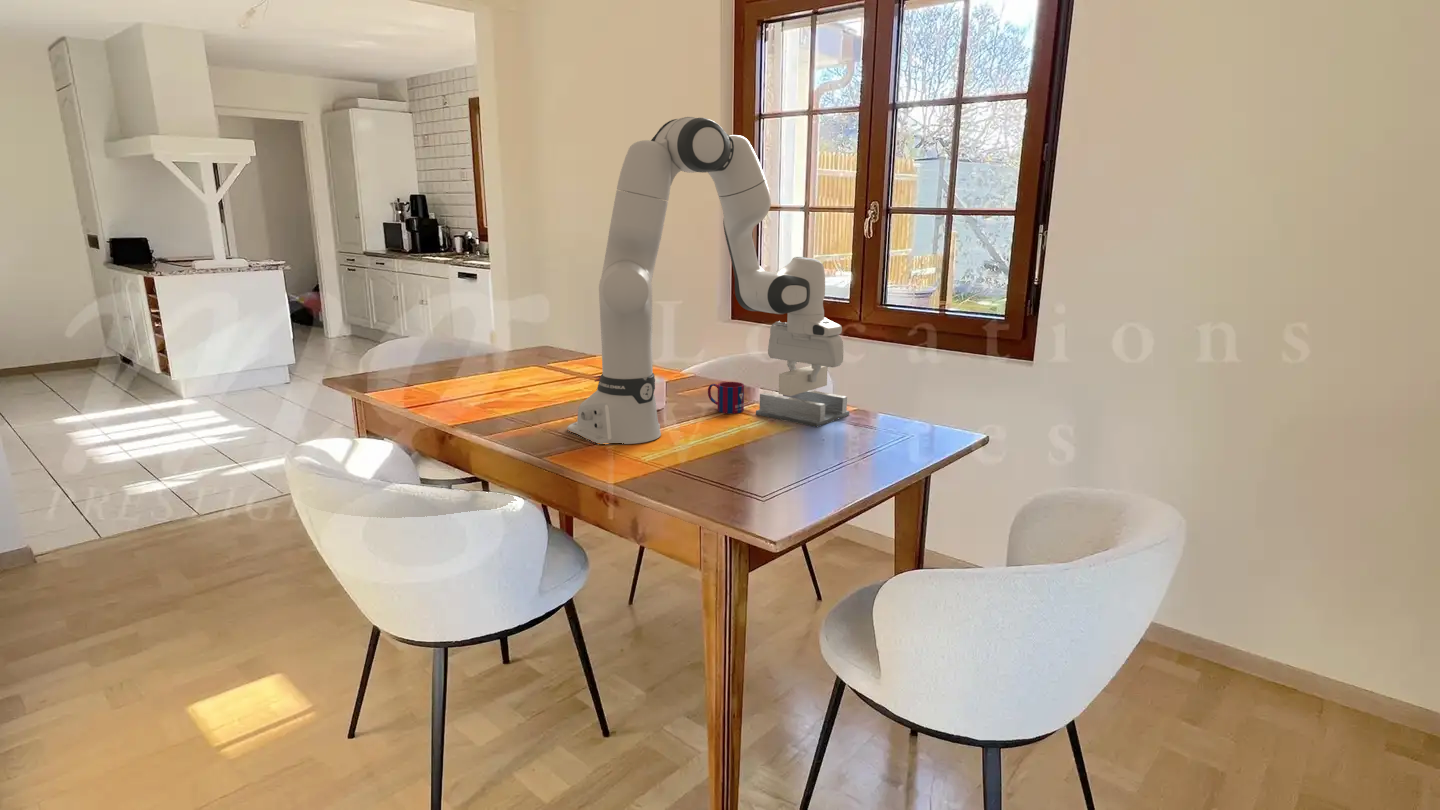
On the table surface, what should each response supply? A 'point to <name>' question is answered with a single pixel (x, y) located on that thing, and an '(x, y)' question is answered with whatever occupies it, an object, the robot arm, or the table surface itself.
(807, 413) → the grey channel stand
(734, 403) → the mug
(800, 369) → the clay strip
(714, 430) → the table surface
